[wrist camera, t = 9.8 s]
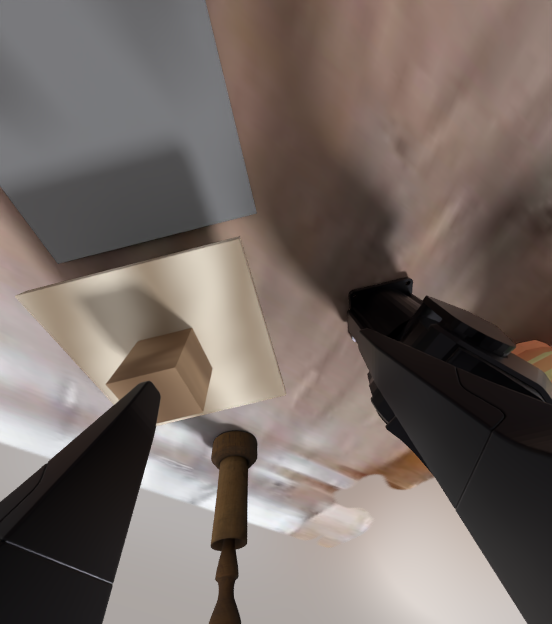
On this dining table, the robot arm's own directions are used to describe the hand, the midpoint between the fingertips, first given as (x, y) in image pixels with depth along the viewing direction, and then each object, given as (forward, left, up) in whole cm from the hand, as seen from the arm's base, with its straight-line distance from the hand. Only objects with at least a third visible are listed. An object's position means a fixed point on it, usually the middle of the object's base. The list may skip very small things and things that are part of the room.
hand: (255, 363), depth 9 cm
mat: (+7, -13, -13) cm, 20 cm away
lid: (+7, +3, -7) cm, 10 cm away
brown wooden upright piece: (+10, +26, -13) cm, 31 cm away
